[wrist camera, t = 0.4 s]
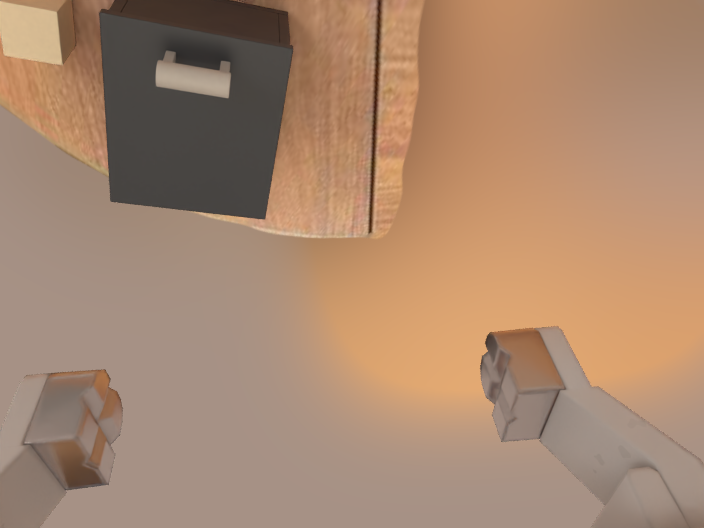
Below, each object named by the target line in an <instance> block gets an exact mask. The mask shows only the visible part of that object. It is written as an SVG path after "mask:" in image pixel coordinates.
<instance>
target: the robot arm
mask: <svg viewBox="0 0 704 528" xmlns="http://www.w3.org/2000/svg"><path fill="white" fill-rule="evenodd" d="M485 344H486V347H487V350H488V352H487V353H486V354H484V355H483V356H482V360H481V365H480V370H481V381H482V386H483V389H484V393H485V396H486V398H487V399H489V400H490V401H491V402H492V403H494V404H495V406H494V410H493V414H492V416H493V419H494V422H495V425H496V427H497V431H498V433H499V436H500V439H501V442H507V441H519V440H530V439H540V442H541V443H542V444H543V445H544V446H545V447H546V448H547V449H548V450H549V451H550V452H551V453H552V454H553V455H554V456H555V457H556V458H557V459H558V460H559V461H561V463H562V464H563V465H564V466H565V467H566V468H567V469H568V470H569V471H570V472H572V474H573V475H574V476H575V477H576V478H577V479H578V480H579V481H581V482H582V483H583V484H584V485H585V486H586V487H587V488H588V489H589V490H590V491H591V492H592V493H593V494H594V495H595V496H596V497H597V498H598V499H599V500H600V501H601V502H602V503H603V504H604V505H605V506H604V507H603V509H602V511H601V512H600V514H599V515H598V517H597V518H596V520H595V521H594V523H593V525H592V526H591V528H704V464H703V462H702V461H701V459H699V458H698V457H697V456H695V455H694V454H692V453H691V452H690V451H688V450H687V449H685V448H684V447H683V446H681V445H680V444H678V443H677V442H675V441H674V440H673V439H671V438H670V437H668V436H667V435H666V434H664V433H663V432H661V431H660V430H659V429H657V428H656V427H655V426H653V425H652V424H650V423H649V422H647V421H646V420H645V419H643V418H642V417H640V416H639V415H638V414H636V413H635V412H633V411H632V410H631V409H629V408H628V407H626V406H625V405H624V404H622V403H621V402H619V401H618V400H616V399H615V398H614V397H612V396H611V395H610V394H608V393H607V392H605V391H604V390H602V389H601V388H600V387H591V385H590V383H589V381H588V379H587V377H586V376H585V373H584V371H583V369H582V368H581V366H580V364H579V362H578V360H577V358H576V356H575V354H574V352H573V350H572V348H571V347H570V345H569V343H568V341H567V339H566V337H565V335H564V333H563V331H562V330H561V329H560V328H559V327H558V326H553V327H542V328H526V329H517V330H508V331H498V332H490V333H489V334H488V336H487V339H486V342H485ZM109 383H110V377H109V375H108V374H107V372H106V370H91V371H75V372H60V373H47V374H36V375H26V376H25V377H24V379H23V380H22V381H21V382H20V383H19V386H18V389H17V391H16V393H15V396H14V398H13V401H12V403H11V406H10V408H9V411H8V413H7V415H6V418H5V420H4V423H3V425H2V428H1V430H0V528H40V526H41V525H42V524H43V523H44V521H45V520H46V519H47V517H48V516H49V515H50V514H51V512H52V511H53V510H54V508H55V507H56V506H57V504H58V503H59V502H60V501H61V499H62V498H63V497H64V496H65V494H66V493H67V492H66V491H65V490H72V489H79V488H87V487H95V486H101V485H109V481H110V477H111V472H112V468H113V464H114V459H115V453H114V451H113V449H112V447H111V446H110V445H111V444H112V443H113V442H114V441H115V440H116V439H117V437H118V436H119V435H120V432H121V427H122V416H123V415H122V414H123V413H122V412H123V410H122V409H123V408H122V403H121V399H120V397H119V395H118V393H117V391H115V390H113V389H111V388H109Z"/></svg>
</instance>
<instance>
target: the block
mask: <svg viewBox="0 0 704 528" xmlns="http://www.w3.org/2000/svg"><path fill="white" fill-rule="evenodd" d="M0 34H1V40H2V46H3V52H4V56H9V57H15V58H20V59H26V60H32V61H38V62H44V63H50V64H56V65H63V64H64V63H65V61H66V60H67V58H68V57H69V55H70V53H71V52H72V50H73V49H74V47H75V46H76V41H75V30H74V19H73V7H72V0H0Z"/></svg>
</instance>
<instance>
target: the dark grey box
mask: <svg viewBox="0 0 704 528" xmlns="http://www.w3.org/2000/svg"><path fill="white" fill-rule="evenodd" d="M109 10H111V11H116V12H121V13H126V14H132V15H137V16H142V17H147V18H152V19H158V20H163V21H168V22H173V23H178V24H184V25H189V26H194V27H199V28H204V29H210V30H215V31H220V32H225V33H230V34H236V35H241V36H246V37H251V38H256V39H262V40H267V41H272V42H277V43H282V44H288V45H290V34H289V21H288V12H284V11H279V10H274V9H270V8H265V7H260V6H255V5H250V4H245V3H240V2H236V1H231V0H115V1H114V3H113V4H112V6H111V7H110V9H109Z"/></svg>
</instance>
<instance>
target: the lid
mask: <svg viewBox="0 0 704 528" xmlns="http://www.w3.org/2000/svg"><path fill="white" fill-rule="evenodd" d="M99 15H100V32H101V49H102V66H103V83H104V100H105V116H106V133H107V150H108V167H109V183H110V200H111V202H118V203H127V204H135V205H144V206H153V207H161V208H170V209H178V210H187V211H196V212H204V213H213V214H221V215H230V216H239V217H247V218H256V219H265V217H266V211H267V205H268V199H269V193H270V187H271V181H272V175H273V169H274V163H275V156H276V150H277V144H278V138H279V132H280V126H281V120H282V114H283V108H284V102H285V96H286V90H287V84H288V78H289V72H290V66H291V60H292V54H293V46H292V45H288V44H282V43H277V42H272V41H267V40H262V39H256V38H251V37H246V36H241V35H236V34H230V33H225V32H220V31H215V30H210V29H204V28H199V27H194V26H189V25H184V24H178V23H173V22H168V21H163V20H158V19H152V18H147V17H142V16H137V15H132V14H126V13H121V12H116V11H111V10H106V9H101V11H100V13H99Z"/></svg>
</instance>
